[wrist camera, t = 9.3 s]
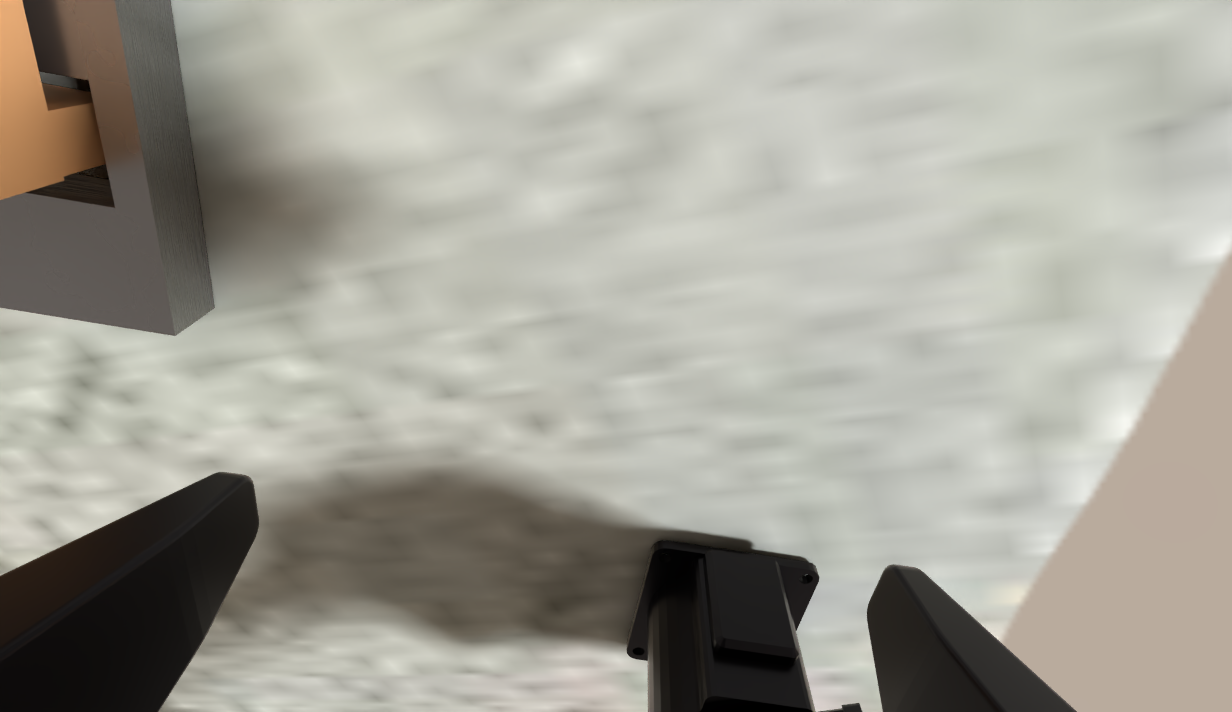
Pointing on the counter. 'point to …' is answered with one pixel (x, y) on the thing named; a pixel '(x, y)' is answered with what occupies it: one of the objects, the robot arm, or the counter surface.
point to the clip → (39, 116)
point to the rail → (113, 180)
